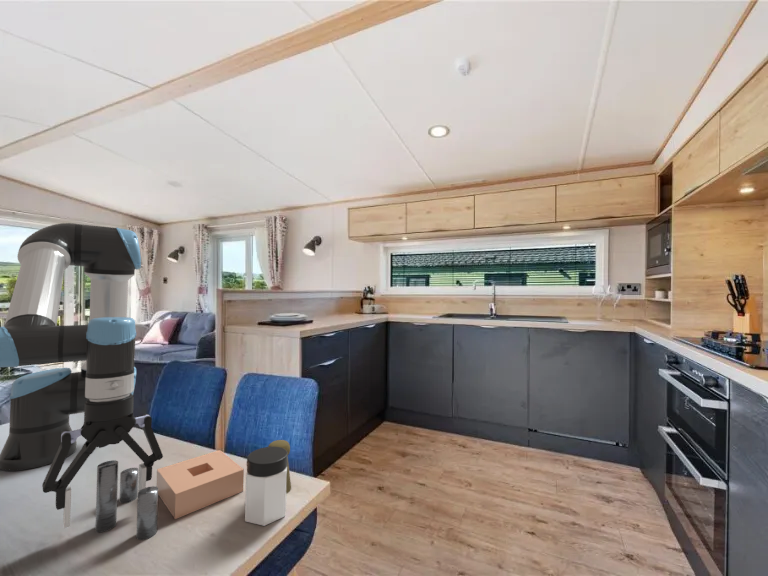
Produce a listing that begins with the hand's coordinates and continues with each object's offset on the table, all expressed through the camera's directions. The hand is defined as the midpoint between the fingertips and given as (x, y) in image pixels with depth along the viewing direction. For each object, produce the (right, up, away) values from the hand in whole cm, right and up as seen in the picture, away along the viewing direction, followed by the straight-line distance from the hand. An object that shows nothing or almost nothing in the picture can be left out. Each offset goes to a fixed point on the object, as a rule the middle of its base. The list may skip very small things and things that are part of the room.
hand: (106, 509), depth 67 cm
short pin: (-2, -3, +9) cm, 10 cm away
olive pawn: (+29, -4, +13) cm, 32 cm away
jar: (+30, -4, +5) cm, 30 cm away
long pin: (0, -3, 0) cm, 3 cm away
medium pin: (+9, -3, -2) cm, 10 cm away
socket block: (+12, -4, +12) cm, 17 cm away
